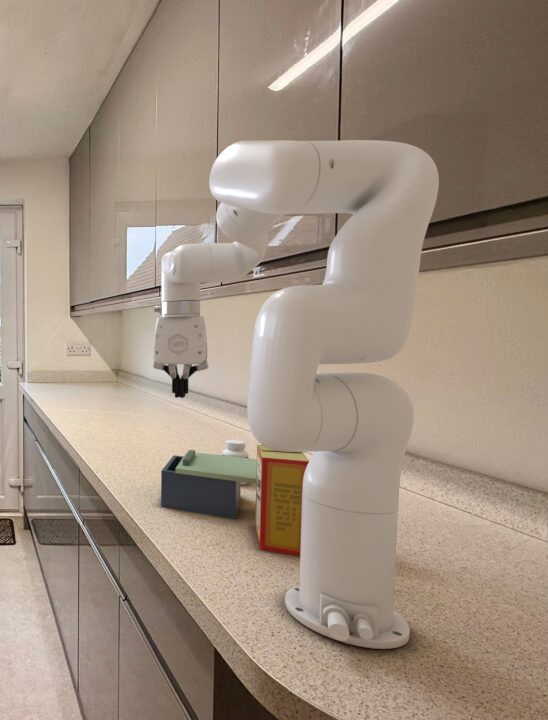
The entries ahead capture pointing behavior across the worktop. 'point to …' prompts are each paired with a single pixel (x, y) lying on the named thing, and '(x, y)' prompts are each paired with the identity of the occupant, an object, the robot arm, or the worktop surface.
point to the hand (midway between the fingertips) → (180, 396)
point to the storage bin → (198, 492)
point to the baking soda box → (279, 499)
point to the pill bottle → (235, 450)
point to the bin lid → (218, 467)
